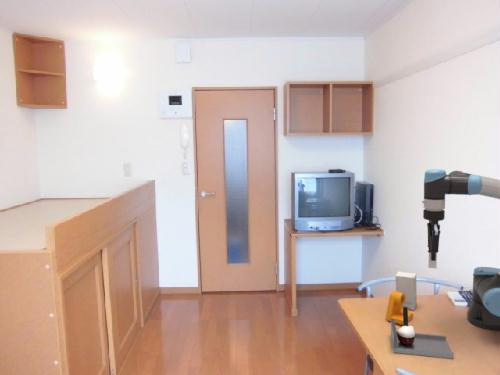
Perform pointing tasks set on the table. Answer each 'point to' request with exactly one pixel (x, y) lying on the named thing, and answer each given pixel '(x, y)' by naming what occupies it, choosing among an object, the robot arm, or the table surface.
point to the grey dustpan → (422, 345)
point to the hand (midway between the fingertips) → (432, 267)
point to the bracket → (397, 308)
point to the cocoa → (406, 330)
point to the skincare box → (407, 288)
